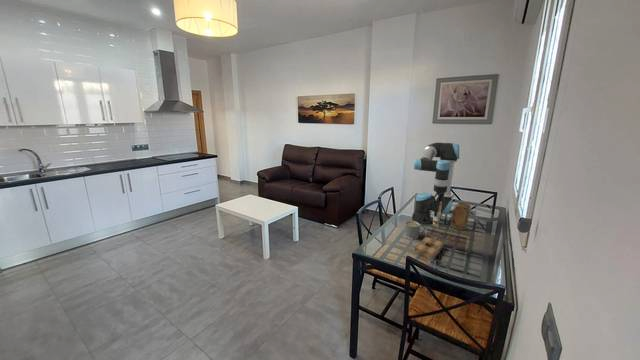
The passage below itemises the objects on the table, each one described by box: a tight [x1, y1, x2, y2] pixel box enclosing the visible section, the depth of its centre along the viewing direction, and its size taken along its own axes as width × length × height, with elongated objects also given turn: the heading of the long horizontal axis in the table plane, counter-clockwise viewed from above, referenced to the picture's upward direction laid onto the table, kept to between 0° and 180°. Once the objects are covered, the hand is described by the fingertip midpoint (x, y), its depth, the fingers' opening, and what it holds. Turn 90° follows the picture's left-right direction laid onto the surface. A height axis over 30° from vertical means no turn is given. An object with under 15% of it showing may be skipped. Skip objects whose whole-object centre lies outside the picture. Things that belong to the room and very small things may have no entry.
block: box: [450, 202, 471, 231], centre depth 196 cm, size 11×8×20 cm
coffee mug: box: [403, 220, 425, 240], centre depth 186 cm, size 13×10×10 cm
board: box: [414, 236, 444, 261], centre depth 169 cm, size 12×18×4 cm, turn 138°
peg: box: [432, 201, 442, 228], centre depth 165 cm, size 4×4×18 cm
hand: (436, 219), depth 166 cm, fingers closed on peg, 4 cm apart
